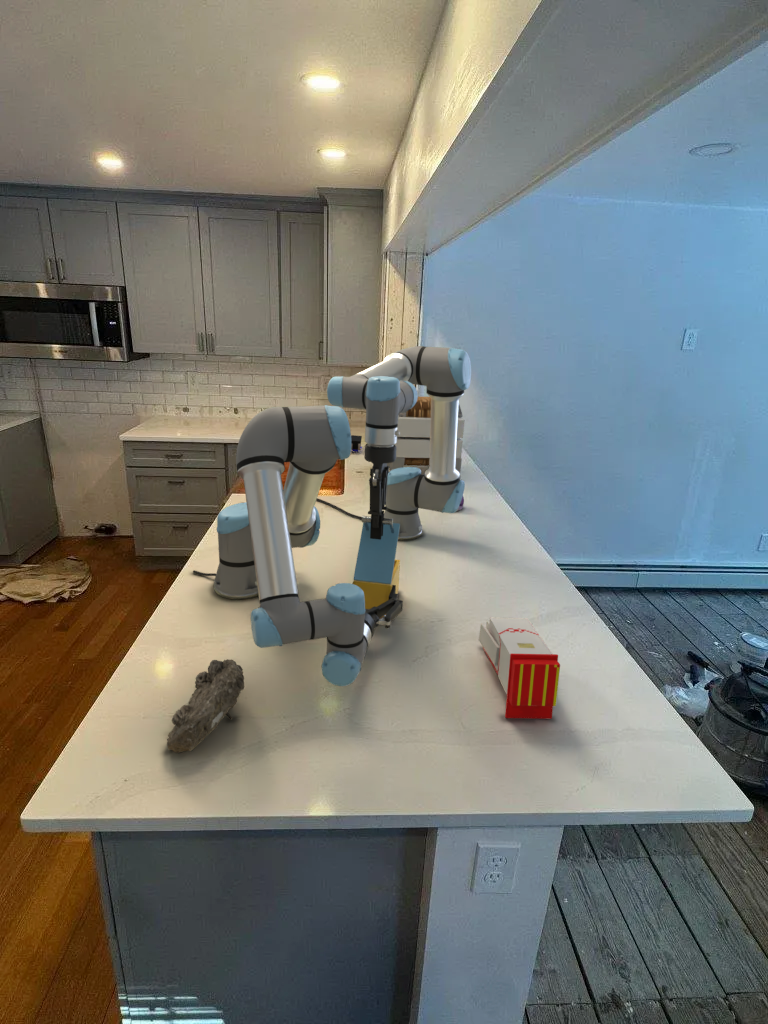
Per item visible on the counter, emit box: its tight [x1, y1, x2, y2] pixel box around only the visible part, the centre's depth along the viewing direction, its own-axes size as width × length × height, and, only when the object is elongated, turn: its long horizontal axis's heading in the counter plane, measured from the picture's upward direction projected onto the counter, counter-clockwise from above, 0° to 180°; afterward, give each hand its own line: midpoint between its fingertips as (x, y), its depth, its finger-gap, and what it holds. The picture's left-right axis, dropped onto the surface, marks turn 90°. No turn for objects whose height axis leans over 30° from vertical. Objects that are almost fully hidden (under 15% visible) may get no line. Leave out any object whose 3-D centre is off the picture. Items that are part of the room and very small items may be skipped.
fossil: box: [166, 658, 245, 754], centre depth 106 cm, size 22×10×15 cm
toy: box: [478, 616, 561, 720], centre depth 122 cm, size 12×13×30 cm
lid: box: [352, 515, 400, 584], centre depth 141 cm, size 16×10×8 cm
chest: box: [352, 558, 401, 619], centre depth 150 cm, size 16×10×10 cm, turn 170°
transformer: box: [387, 396, 465, 480], centre depth 268 cm, size 34×33×41 cm
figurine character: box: [351, 434, 363, 454], centre depth 310 cm, size 7×8×15 cm
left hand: (374, 587), depth 146 cm, fingers closed on chest, 9 cm apart
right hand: (376, 536), depth 141 cm, fingers closed on lid, 2 cm apart
